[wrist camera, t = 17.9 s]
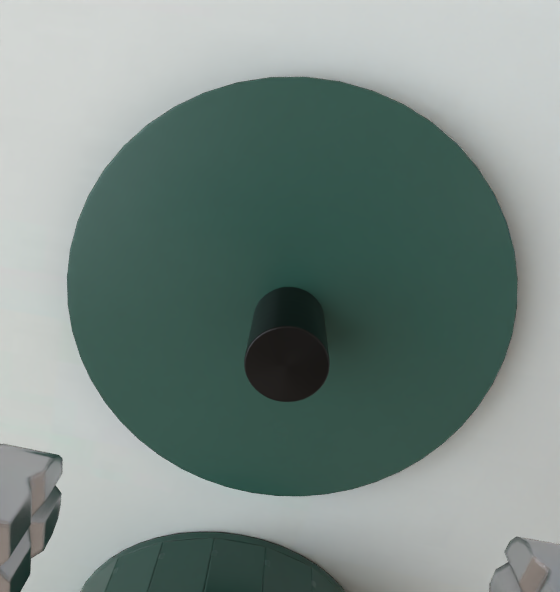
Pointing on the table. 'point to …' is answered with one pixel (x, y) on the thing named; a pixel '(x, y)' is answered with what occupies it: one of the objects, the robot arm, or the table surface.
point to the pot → (209, 567)
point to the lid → (292, 286)
